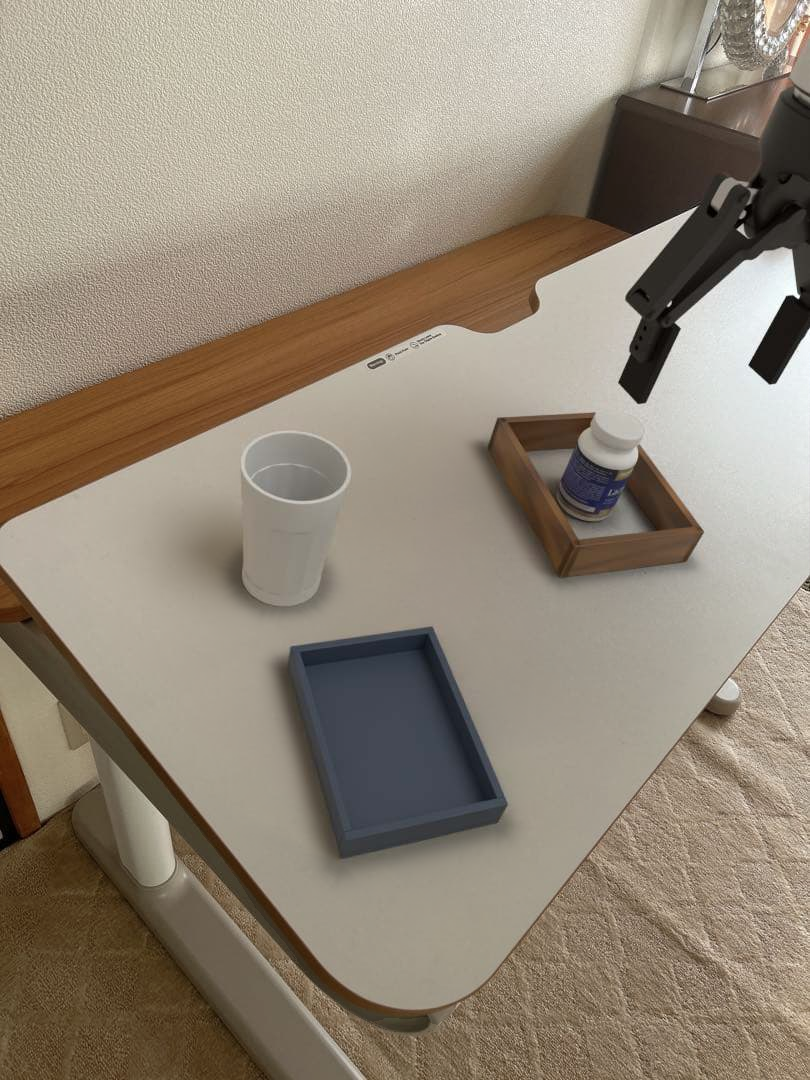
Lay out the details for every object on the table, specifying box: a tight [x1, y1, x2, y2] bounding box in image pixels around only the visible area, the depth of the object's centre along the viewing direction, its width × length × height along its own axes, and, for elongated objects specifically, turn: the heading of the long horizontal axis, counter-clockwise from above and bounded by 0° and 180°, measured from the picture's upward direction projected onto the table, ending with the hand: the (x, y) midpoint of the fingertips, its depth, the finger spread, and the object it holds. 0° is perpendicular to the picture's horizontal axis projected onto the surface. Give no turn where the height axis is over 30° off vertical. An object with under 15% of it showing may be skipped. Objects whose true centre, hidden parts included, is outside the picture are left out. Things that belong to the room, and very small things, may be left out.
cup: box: [239, 430, 352, 607], centre depth 68 cm, size 8×8×12 cm
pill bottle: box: [555, 407, 645, 522], centre depth 82 cm, size 6×6×10 cm
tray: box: [286, 626, 509, 860], centre depth 62 cm, size 15×11×3 cm
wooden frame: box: [486, 411, 705, 578], centre depth 85 cm, size 18×14×4 cm
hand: (699, 383), depth 70 cm, fingers open, 13 cm apart
